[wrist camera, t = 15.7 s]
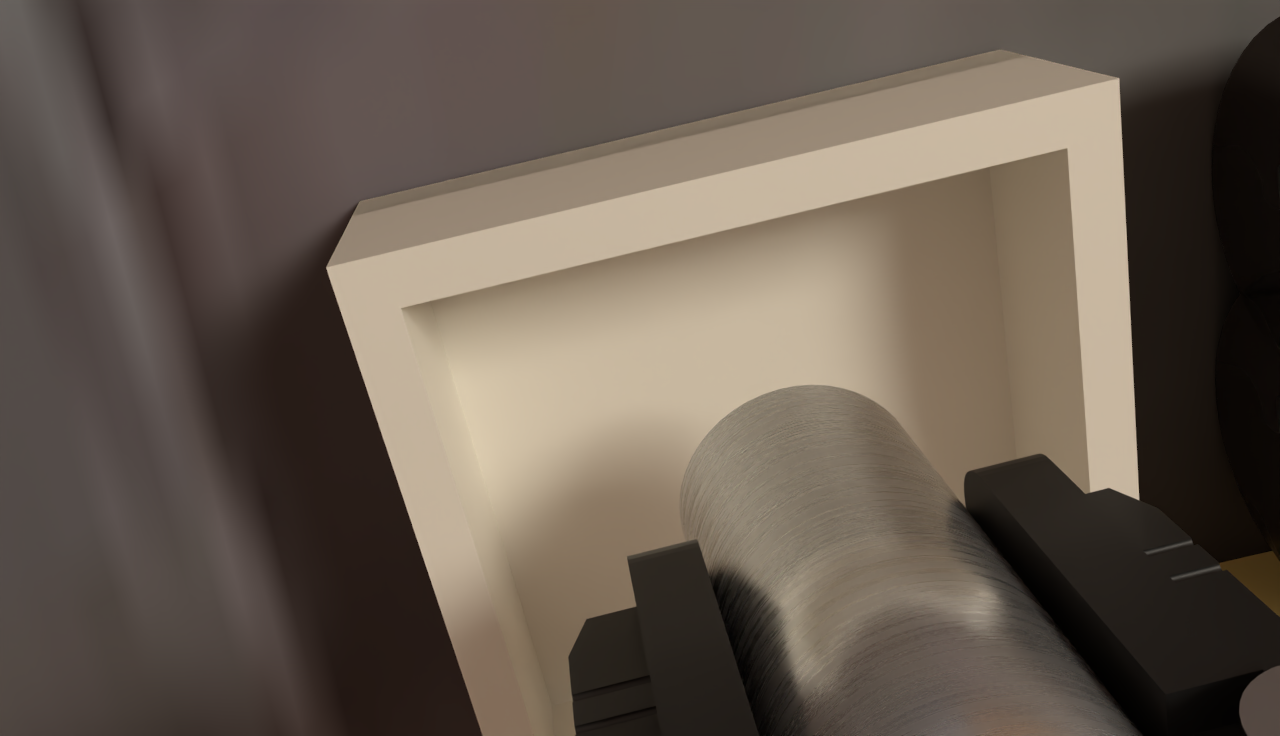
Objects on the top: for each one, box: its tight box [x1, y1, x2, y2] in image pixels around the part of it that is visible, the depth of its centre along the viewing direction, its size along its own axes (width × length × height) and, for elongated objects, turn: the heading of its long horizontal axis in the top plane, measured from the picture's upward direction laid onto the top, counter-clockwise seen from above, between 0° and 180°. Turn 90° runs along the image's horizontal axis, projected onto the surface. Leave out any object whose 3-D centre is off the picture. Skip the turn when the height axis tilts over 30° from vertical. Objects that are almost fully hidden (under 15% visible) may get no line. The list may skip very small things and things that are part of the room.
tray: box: [326, 49, 1139, 736], centre depth 15 cm, size 8×8×3 cm
